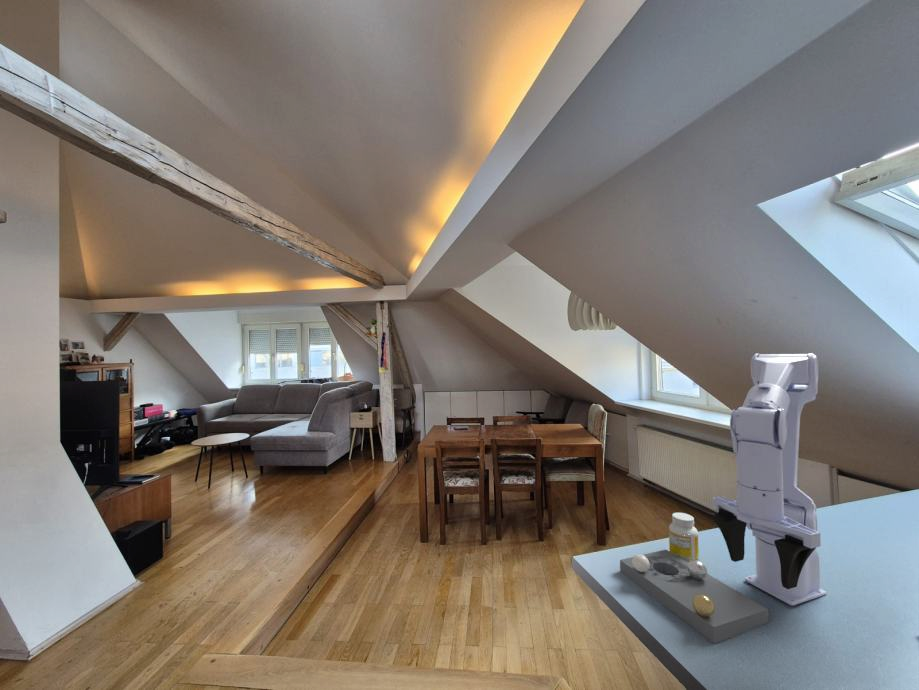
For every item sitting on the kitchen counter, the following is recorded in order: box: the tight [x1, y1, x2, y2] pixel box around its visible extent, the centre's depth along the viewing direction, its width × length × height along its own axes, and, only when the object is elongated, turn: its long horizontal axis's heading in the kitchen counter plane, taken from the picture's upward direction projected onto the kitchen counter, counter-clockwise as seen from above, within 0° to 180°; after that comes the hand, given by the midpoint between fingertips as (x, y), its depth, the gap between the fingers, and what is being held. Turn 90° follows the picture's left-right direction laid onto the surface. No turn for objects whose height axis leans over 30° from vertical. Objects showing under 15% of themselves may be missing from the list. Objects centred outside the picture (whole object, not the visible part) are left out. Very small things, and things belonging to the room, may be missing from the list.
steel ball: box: [687, 560, 709, 580], centre depth 70 cm, size 3×3×3 cm
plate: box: [619, 549, 770, 644], centre depth 69 cm, size 12×20×2 cm, turn 19°
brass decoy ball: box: [692, 594, 715, 617], centre depth 61 cm, size 3×3×3 cm
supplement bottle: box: [668, 512, 700, 563], centre depth 81 cm, size 5×5×10 cm
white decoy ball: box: [632, 553, 650, 572], centre depth 73 cm, size 3×3×3 cm
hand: (761, 572), depth 59 cm, fingers open, 7 cm apart
